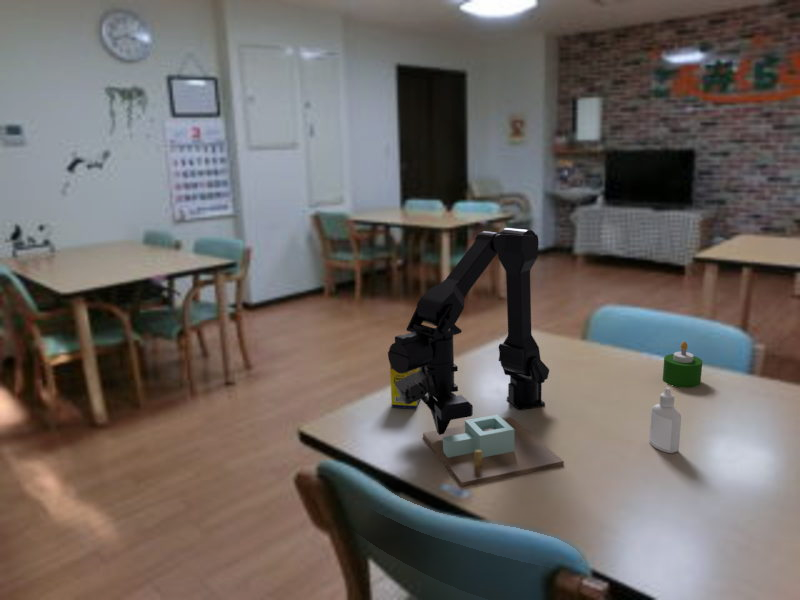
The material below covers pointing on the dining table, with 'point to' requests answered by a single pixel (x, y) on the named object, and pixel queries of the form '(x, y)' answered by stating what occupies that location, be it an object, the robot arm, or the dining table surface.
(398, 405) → the supplement box
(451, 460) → the board
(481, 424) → the collar
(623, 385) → the dining table surface
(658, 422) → the eye dropper bottle
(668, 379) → the candle
